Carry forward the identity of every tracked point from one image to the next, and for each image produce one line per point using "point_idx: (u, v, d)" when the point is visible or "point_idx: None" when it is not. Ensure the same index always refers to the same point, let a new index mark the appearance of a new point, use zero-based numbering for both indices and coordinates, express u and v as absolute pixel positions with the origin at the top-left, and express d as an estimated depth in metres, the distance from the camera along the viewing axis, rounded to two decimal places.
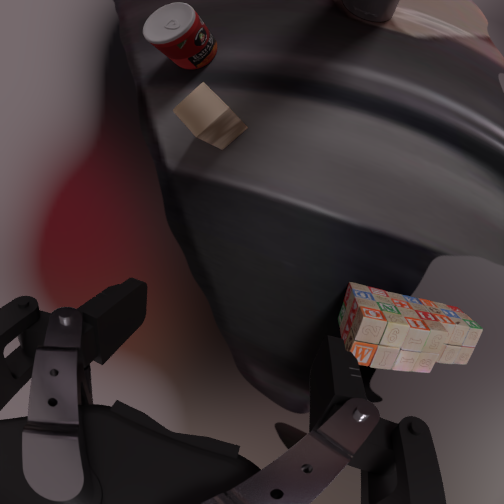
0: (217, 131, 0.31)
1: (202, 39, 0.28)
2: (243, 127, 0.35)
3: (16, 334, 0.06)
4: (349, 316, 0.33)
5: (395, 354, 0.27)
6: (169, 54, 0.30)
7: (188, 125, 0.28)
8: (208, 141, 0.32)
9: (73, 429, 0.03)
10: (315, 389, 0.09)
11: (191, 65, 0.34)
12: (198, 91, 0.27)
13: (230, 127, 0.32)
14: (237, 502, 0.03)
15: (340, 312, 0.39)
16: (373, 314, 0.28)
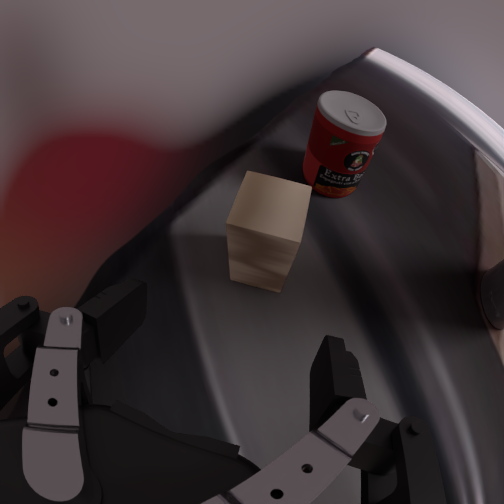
0: (252, 253, 0.20)
1: (355, 163, 0.26)
2: (276, 287, 0.25)
3: (16, 334, 0.06)
4: None
5: None
6: (313, 139, 0.27)
7: (237, 202, 0.19)
8: (230, 249, 0.21)
9: (73, 429, 0.03)
10: (315, 389, 0.09)
11: (313, 177, 0.31)
12: (295, 188, 0.19)
13: (267, 268, 0.22)
14: (237, 502, 0.03)
15: None
16: None
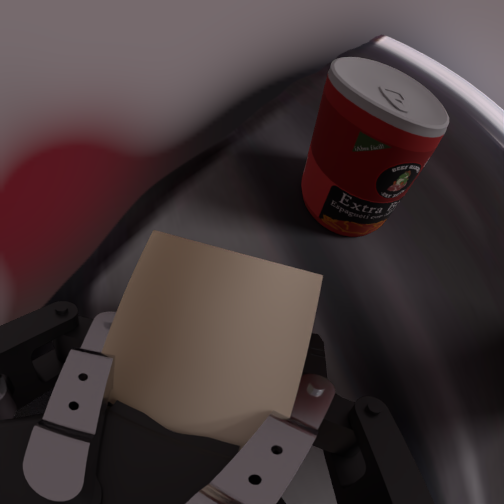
0: None
1: (395, 185, 0.14)
2: None
3: (48, 340, 0.06)
4: None
5: None
6: (321, 139, 0.15)
7: (116, 333, 0.06)
8: None
9: (73, 429, 0.03)
10: None
11: (318, 204, 0.18)
12: (274, 286, 0.07)
13: None
14: (220, 494, 0.03)
15: None
16: None
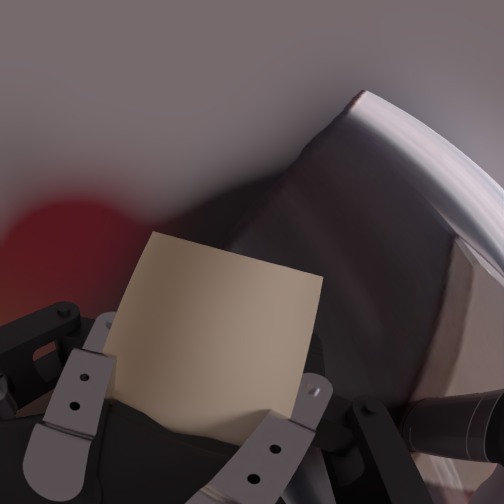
0: None
1: None
2: None
3: (50, 340, 0.06)
4: None
5: None
6: None
7: (116, 334, 0.06)
8: None
9: (73, 429, 0.03)
10: None
11: None
12: (275, 288, 0.07)
13: None
14: (219, 494, 0.03)
15: None
16: None
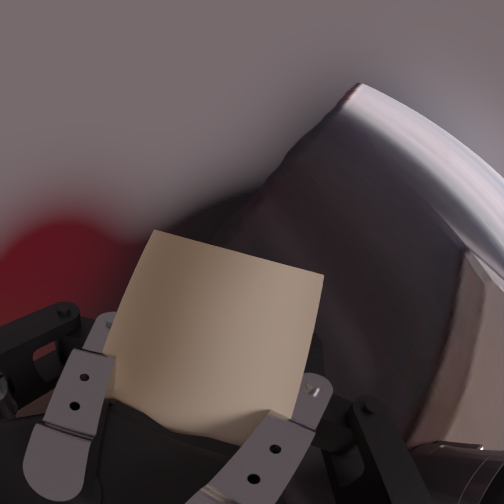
0: None
1: None
2: None
3: (50, 340, 0.06)
4: None
5: None
6: None
7: (117, 333, 0.06)
8: None
9: (73, 429, 0.03)
10: None
11: None
12: (276, 286, 0.07)
13: None
14: (219, 494, 0.03)
15: None
16: None
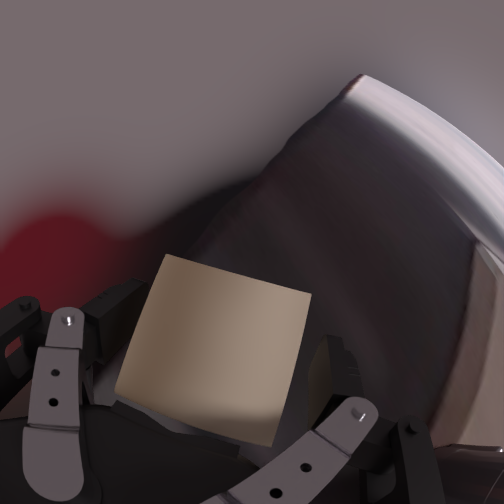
0: None
1: None
2: None
3: (17, 334, 0.06)
4: None
5: None
6: None
7: (137, 343, 0.08)
8: None
9: (73, 429, 0.03)
10: (314, 388, 0.09)
11: None
12: (270, 303, 0.08)
13: None
14: (236, 502, 0.03)
15: None
16: None
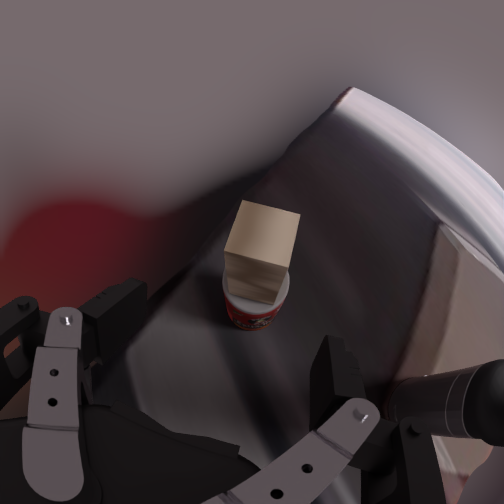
0: (247, 273, 0.23)
1: (258, 322, 0.33)
2: (270, 300, 0.28)
3: (16, 334, 0.06)
4: None
5: None
6: None
7: (234, 231, 0.21)
8: (228, 270, 0.24)
9: (73, 429, 0.03)
10: (315, 389, 0.09)
11: (231, 318, 0.37)
12: (284, 217, 0.22)
13: (261, 286, 0.25)
14: (237, 502, 0.03)
15: None
16: None
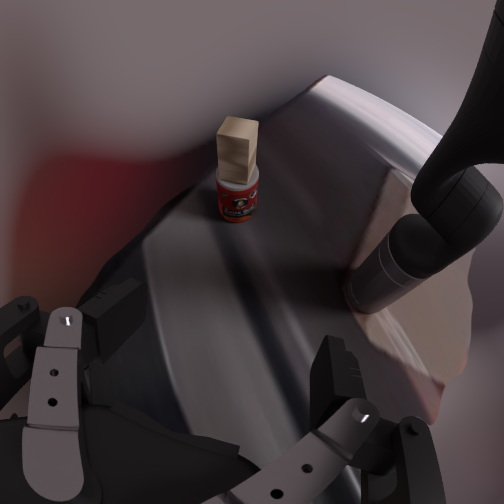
0: (229, 152, 0.40)
1: (239, 204, 0.49)
2: (244, 179, 0.44)
3: (16, 334, 0.06)
4: None
5: None
6: (217, 191, 0.50)
7: (222, 127, 0.38)
8: (218, 151, 0.40)
9: (73, 429, 0.03)
10: (315, 389, 0.09)
11: (221, 211, 0.53)
12: (249, 122, 0.39)
13: (237, 163, 0.41)
14: (237, 502, 0.03)
15: None
16: None
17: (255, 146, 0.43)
